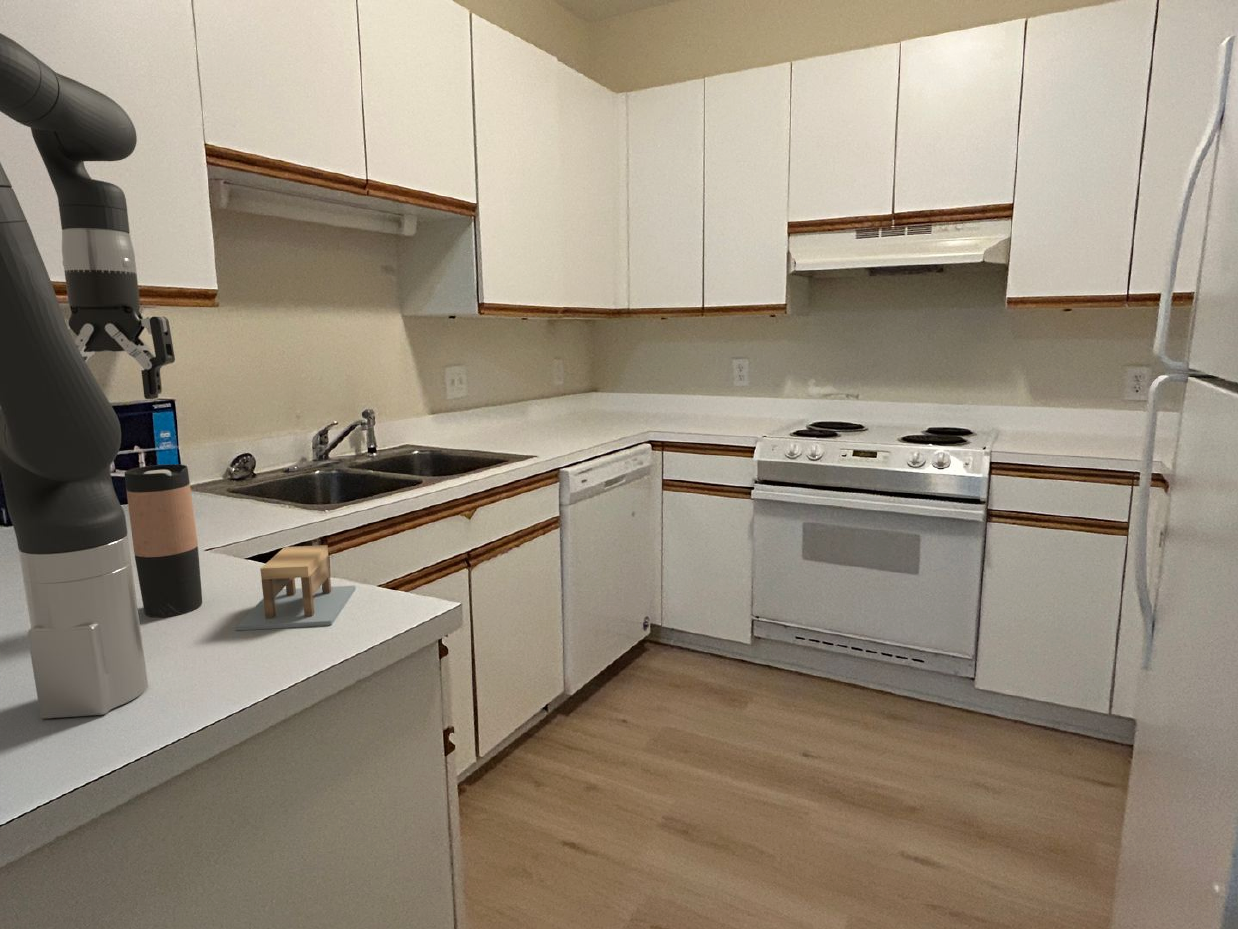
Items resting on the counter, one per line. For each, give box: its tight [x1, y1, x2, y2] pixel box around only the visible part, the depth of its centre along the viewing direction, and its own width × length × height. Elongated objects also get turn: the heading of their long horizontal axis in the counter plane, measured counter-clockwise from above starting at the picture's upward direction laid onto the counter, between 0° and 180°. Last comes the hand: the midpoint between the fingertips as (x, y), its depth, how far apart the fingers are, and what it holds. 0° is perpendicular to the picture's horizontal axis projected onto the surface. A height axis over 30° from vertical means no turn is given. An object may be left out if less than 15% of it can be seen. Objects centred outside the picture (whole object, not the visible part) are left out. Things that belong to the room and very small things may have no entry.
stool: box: [260, 544, 332, 619], centre depth 106 cm, size 10×6×7 cm, turn 7°
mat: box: [235, 585, 356, 632], centre depth 106 cm, size 14×12×1 cm
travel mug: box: [124, 463, 203, 618], centre depth 106 cm, size 8×8×20 cm
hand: (116, 399), depth 98 cm, fingers open, 8 cm apart
